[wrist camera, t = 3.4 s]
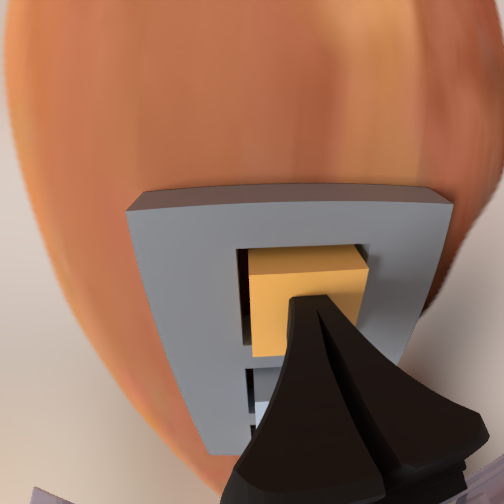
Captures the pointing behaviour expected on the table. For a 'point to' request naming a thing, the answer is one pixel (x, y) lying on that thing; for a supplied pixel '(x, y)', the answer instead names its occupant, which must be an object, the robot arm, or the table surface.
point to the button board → (262, 236)
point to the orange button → (300, 287)
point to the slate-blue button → (264, 388)
